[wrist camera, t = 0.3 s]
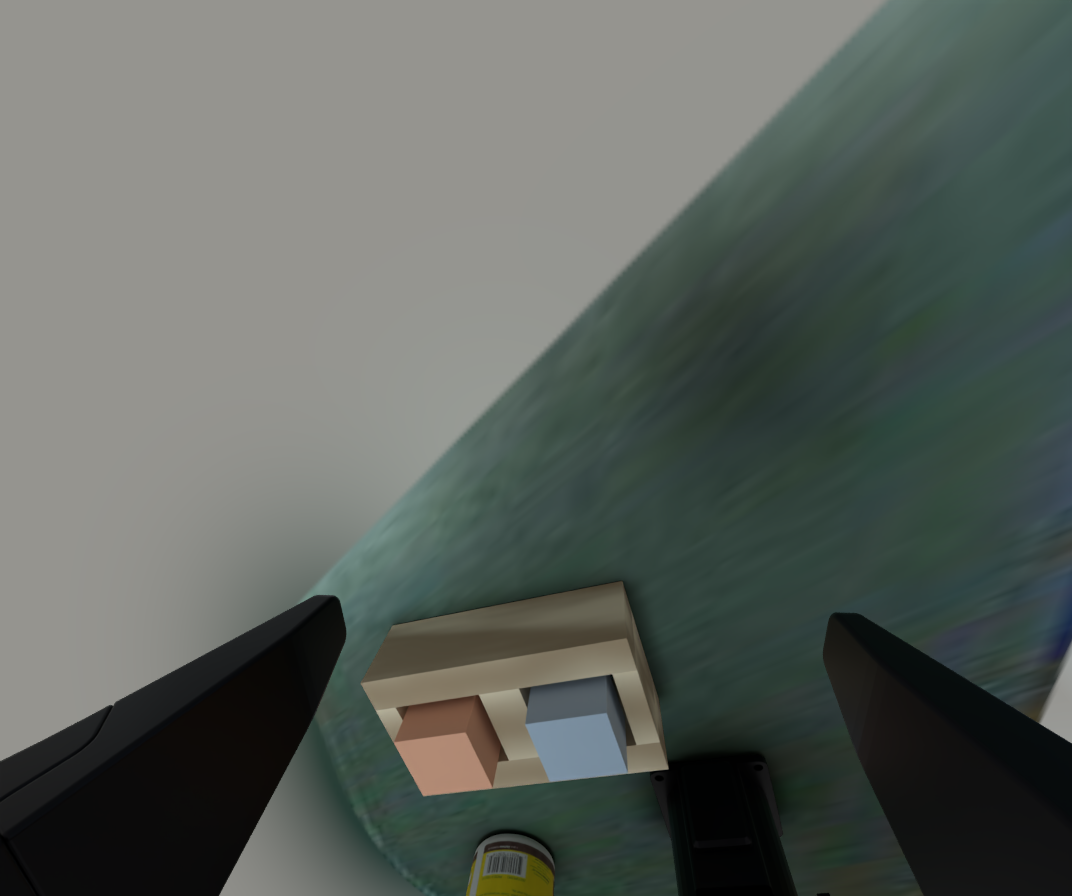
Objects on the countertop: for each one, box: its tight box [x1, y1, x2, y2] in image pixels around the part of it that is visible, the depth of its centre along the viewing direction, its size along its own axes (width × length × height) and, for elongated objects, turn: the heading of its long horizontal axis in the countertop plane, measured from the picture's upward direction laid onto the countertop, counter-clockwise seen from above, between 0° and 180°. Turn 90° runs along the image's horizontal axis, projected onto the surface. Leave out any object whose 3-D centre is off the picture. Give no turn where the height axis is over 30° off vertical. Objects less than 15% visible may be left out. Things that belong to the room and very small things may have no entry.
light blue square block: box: [525, 675, 628, 782], centre depth 23 cm, size 4×4×3 cm
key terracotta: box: [394, 695, 501, 796], centre depth 24 cm, size 4×4×3 cm
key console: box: [361, 581, 669, 796], centre depth 26 cm, size 8×13×4 cm, turn 108°
